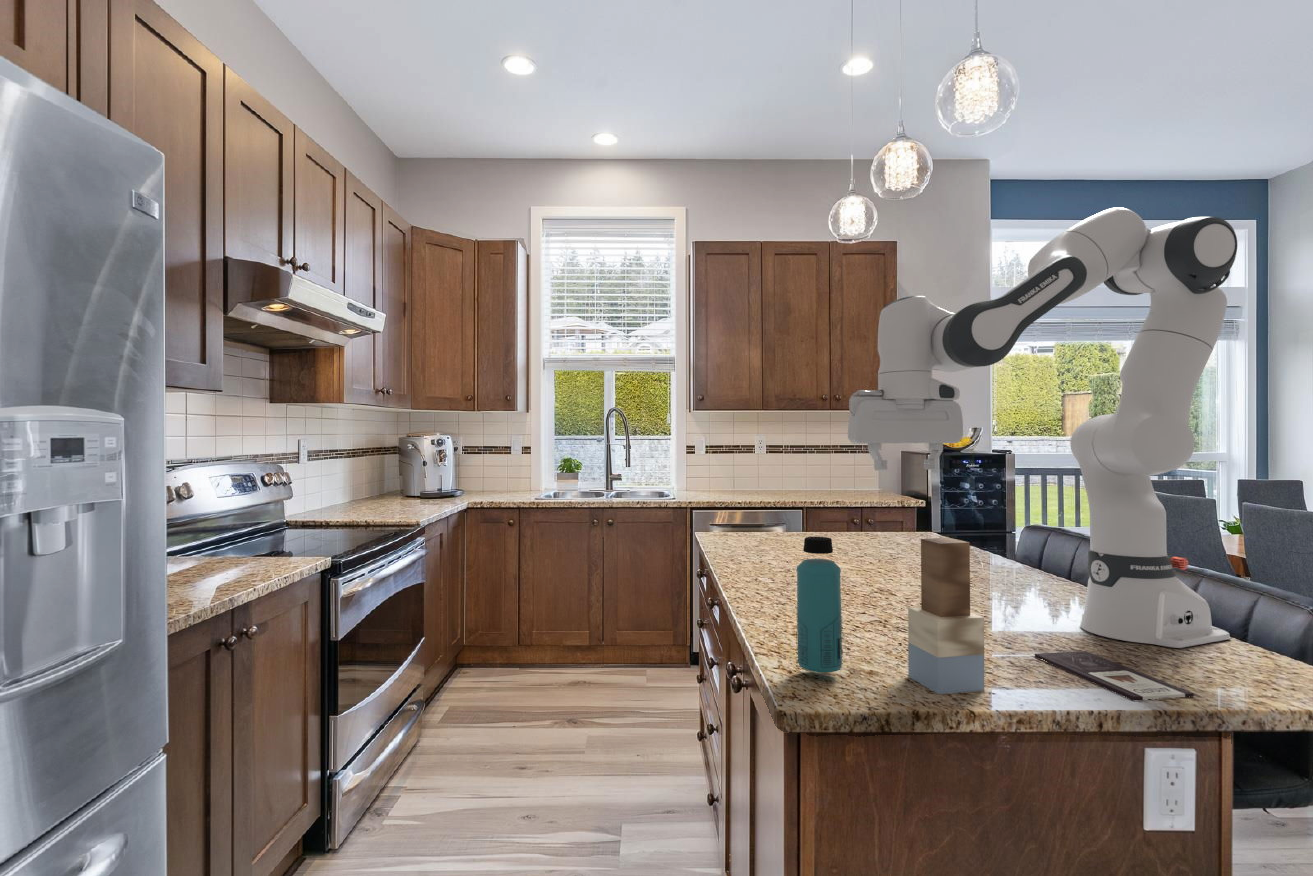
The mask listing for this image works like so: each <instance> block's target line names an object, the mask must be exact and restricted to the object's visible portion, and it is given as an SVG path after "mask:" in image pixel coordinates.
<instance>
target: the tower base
mask: <svg viewBox="0 0 1313 876" xmlns="http://www.w3.org/2000/svg"><path fill="white" fill-rule="evenodd" d="M907 647H908V650H907V655H908V657H907V658H908V661H907V662H908V665H907V666H908V668H907V669H908V671H907V672H908V674H907V677H909V678H911V679H913V681H916V682H917V683H918V684H921V686H924V687H925V688H927V689H928V688H929V689H928V690H930V691H932V692H933V691H934V692H933V693H935V692H936V695H944V694H946V695H947V694H959V693H968V692H969V693H971V692H982V691H984V692H985V654H984V655H969V656H953V657H936V656H934V655H932V654H930V653H928V652H926V651H924V650H922V649H920V648H918V647H916V646H914V645H913V644H911V643H909V642H908V641H907Z"/></svg>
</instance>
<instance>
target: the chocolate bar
mask: <svg viewBox="0 0 1313 876" xmlns="http://www.w3.org/2000/svg"><path fill="white" fill-rule="evenodd" d="M1035 657H1037V658H1039V659H1038V660H1040V659H1043V660H1045V661H1047V662H1048V663H1047V664H1049V663H1050V664H1049V665H1051V664H1053V665H1054V666H1053V665H1052V666H1053V667H1055V666H1056V668H1057V669H1060V668H1061V670H1062V669H1063V670H1062V671H1065V672H1067V673H1069V674H1071V673H1072V675H1073V676H1077V677H1078V678H1081V679H1083V678H1084V679H1083V680H1085V679H1086V680H1085V681H1087V680H1088V682H1089V681H1090V682H1089V683H1092V682H1094V683H1096V684H1098V685H1097V686H1099V685H1100V686H1099V687H1101V688H1103V687H1105V688H1107V689H1106V690H1108V691H1110V692H1112V691H1113V693H1114V692H1116V693H1115V694H1117V695H1118V696H1121V697H1123V696H1125V697H1124V698H1126V697H1127V698H1126V699H1128V698H1129V699H1128V700H1130V699H1131V700H1130V701H1133V700H1142V701H1147V700H1146V699H1157V700H1162V699H1161V698H1172V699H1174V698H1173V697H1187V698H1192V697H1191V696H1195V695H1194V692H1192V691H1189V690H1186V689H1184V688H1181V687H1178V686H1177V685H1174V684H1171V683H1168V682H1166V681H1163V680H1161V679H1158V678H1155V677H1154V676H1150V675H1148V674H1145V673H1143V672H1140V671H1138V670H1135V669H1133V668H1131V667H1127V666H1125V665H1123V664H1121V663H1117V662H1115V661H1113V660H1110V659H1107V658H1105V657H1102V656H1099V655H1096V654H1094V653H1093V652H1092V653H1091V652H1089V651H1087V650H1085V651H1084V650H1082V651H1081V650H1080V651H1063V652H1044V653H1041V652H1040V653H1034V658H1035ZM1037 658H1036V659H1037ZM1094 683H1093V684H1094ZM1096 684H1095V685H1096ZM1105 688H1104V689H1105ZM1189 696H1190V697H1189Z"/></svg>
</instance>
